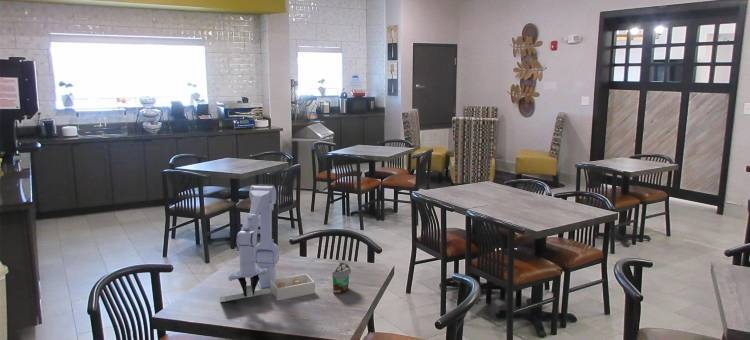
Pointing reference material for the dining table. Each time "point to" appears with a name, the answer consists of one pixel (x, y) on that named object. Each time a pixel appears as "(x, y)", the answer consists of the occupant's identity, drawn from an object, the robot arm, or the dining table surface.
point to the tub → (292, 286)
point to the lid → (238, 296)
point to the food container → (341, 278)
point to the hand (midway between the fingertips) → (248, 294)
